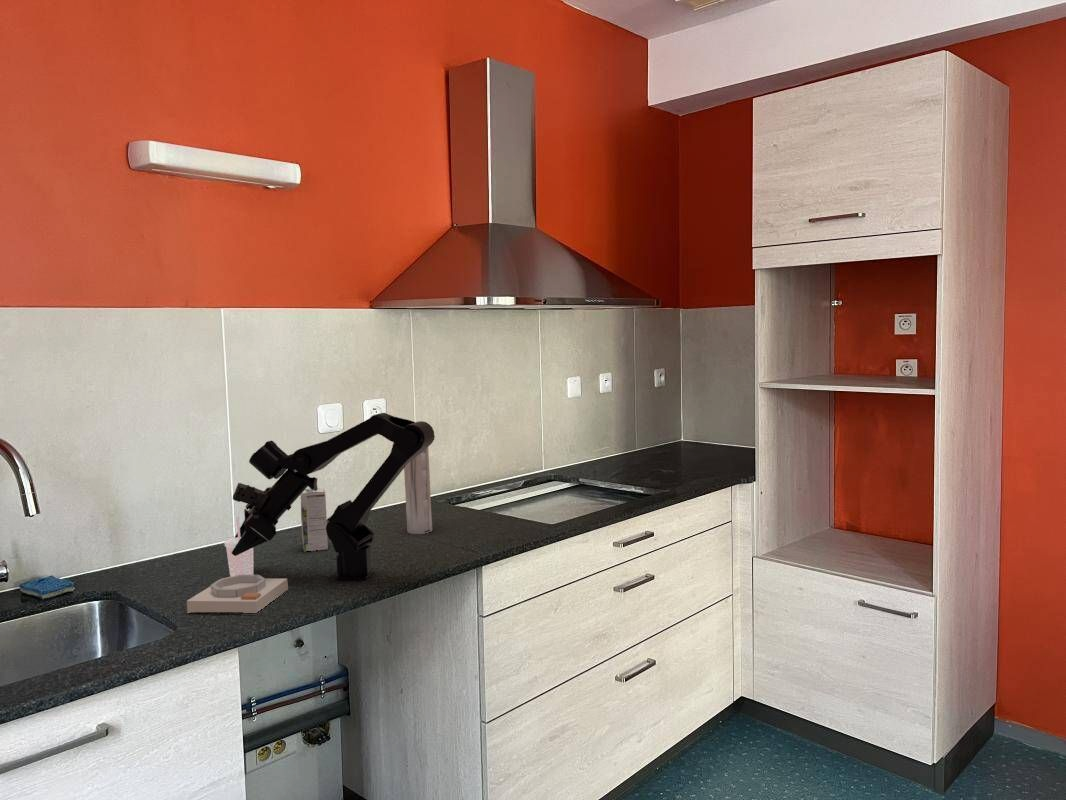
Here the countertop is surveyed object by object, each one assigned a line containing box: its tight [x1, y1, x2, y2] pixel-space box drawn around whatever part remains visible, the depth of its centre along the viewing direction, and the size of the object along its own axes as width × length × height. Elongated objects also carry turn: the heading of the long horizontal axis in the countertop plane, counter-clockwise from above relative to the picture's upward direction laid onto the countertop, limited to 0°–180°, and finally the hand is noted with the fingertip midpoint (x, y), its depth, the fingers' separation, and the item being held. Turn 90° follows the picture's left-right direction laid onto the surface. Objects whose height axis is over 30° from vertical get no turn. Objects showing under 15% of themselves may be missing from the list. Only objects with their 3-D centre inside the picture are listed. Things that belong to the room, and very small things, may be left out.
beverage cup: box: [223, 516, 254, 577], centre depth 175 cm, size 6×6×14 cm
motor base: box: [186, 574, 289, 614], centre depth 162 cm, size 14×14×4 cm
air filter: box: [403, 447, 433, 535], centre depth 213 cm, size 6×6×25 cm
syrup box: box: [300, 487, 329, 553], centre depth 200 cm, size 6×6×14 cm
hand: (233, 549), depth 175 cm, fingers open, 9 cm apart
